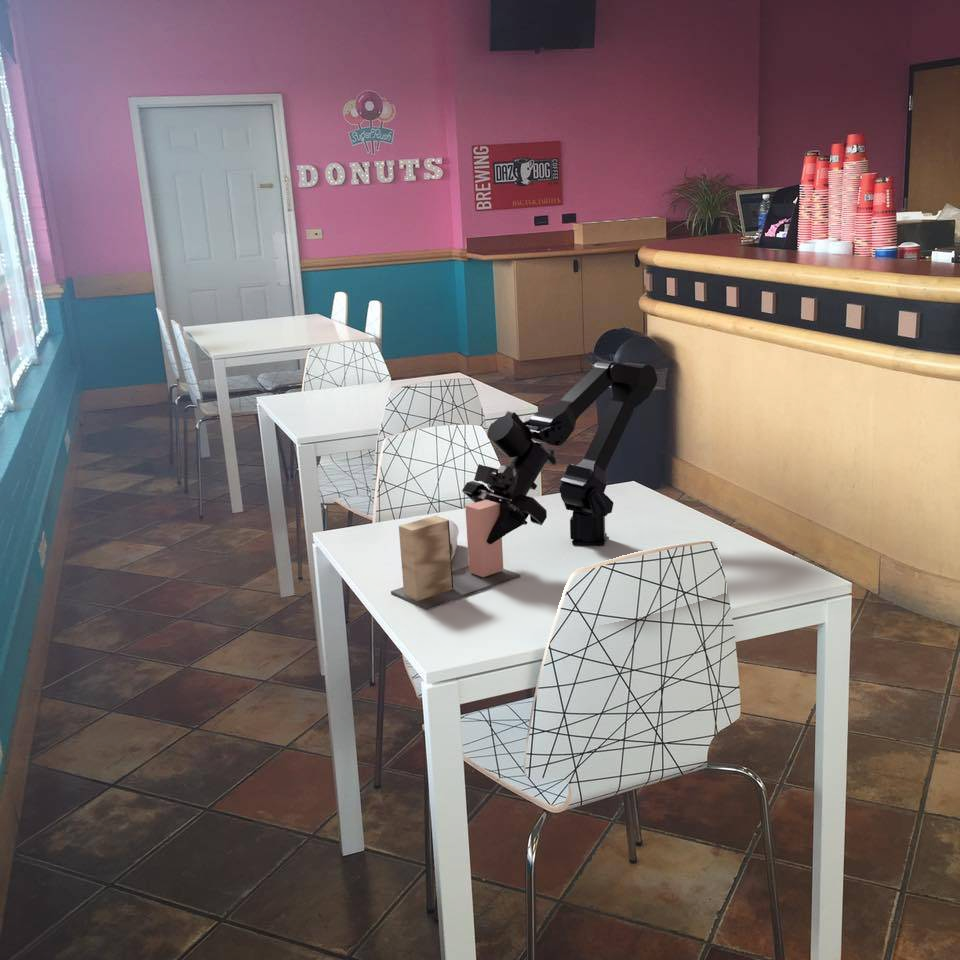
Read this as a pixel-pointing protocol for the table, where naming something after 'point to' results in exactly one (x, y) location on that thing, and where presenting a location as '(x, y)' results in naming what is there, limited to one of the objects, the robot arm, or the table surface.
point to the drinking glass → (453, 537)
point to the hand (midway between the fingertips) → (480, 540)
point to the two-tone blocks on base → (437, 566)
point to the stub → (483, 538)
